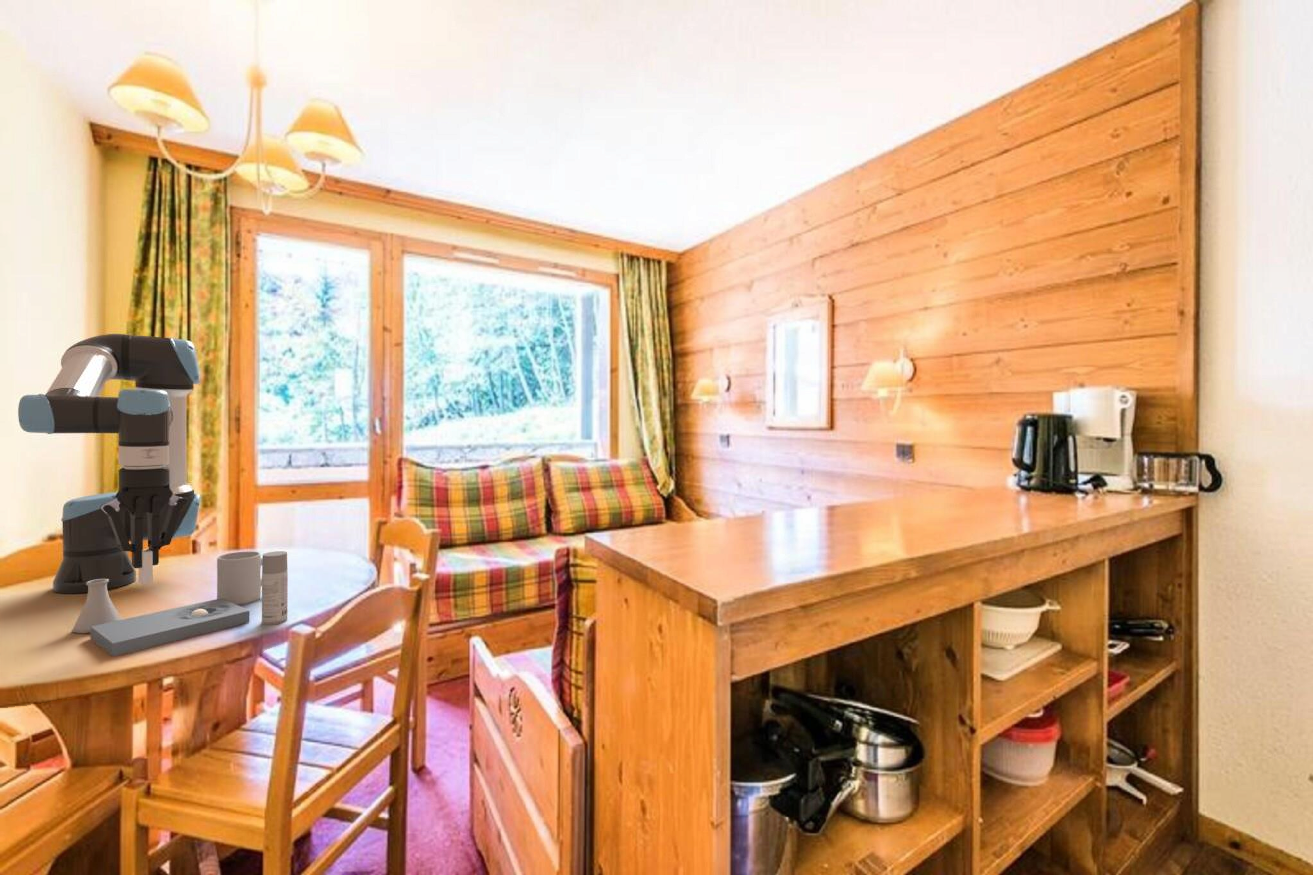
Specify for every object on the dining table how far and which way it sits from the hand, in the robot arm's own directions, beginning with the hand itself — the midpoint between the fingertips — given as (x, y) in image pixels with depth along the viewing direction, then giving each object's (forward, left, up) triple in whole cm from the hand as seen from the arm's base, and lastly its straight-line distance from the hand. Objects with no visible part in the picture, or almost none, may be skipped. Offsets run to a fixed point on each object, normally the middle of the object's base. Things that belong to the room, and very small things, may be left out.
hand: (145, 582), depth 113 cm
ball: (+1, +9, -9) cm, 13 cm away
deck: (+1, +4, -11) cm, 12 cm away
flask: (-13, -4, -11) cm, 18 cm away
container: (+11, +19, -11) cm, 25 cm away
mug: (-10, +22, -11) cm, 26 cm away
